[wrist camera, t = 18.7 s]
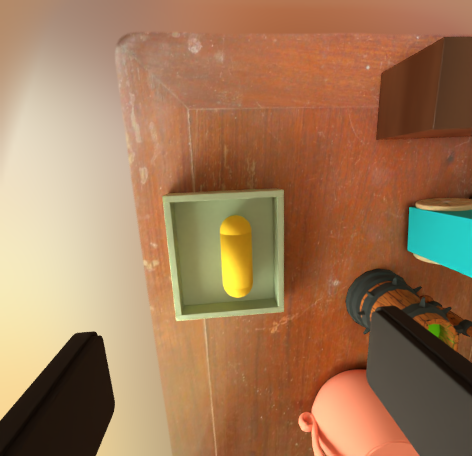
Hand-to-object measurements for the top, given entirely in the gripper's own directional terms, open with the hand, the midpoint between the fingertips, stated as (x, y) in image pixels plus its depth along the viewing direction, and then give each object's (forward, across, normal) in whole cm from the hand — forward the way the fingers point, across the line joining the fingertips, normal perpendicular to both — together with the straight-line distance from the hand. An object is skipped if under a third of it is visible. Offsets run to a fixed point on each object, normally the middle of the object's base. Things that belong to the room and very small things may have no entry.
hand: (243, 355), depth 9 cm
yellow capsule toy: (+25, 0, +5) cm, 26 cm away
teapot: (+26, -21, +33) cm, 47 cm away
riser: (+26, -29, -13) cm, 41 cm away
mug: (+26, -24, +14) cm, 39 cm away
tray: (+26, 0, +5) cm, 27 cm away
